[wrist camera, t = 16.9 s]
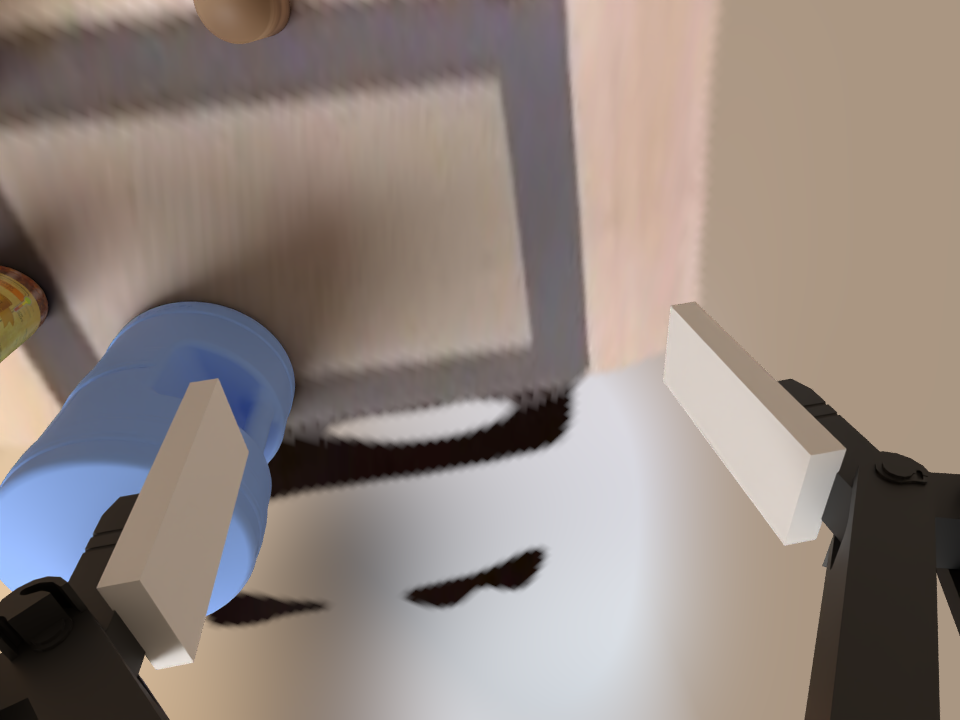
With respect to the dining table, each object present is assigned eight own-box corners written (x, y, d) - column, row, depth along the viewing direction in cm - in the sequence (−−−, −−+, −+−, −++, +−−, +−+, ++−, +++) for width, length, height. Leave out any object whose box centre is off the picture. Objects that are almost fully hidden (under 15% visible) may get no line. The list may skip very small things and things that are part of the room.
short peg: (215, -6, 39) (176, -8, 32) (258, -47, 38) (229, -60, 31) (260, 49, 41) (233, 59, 34) (302, 11, 40) (285, 12, 33)
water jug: (161, 457, 58) (11, 772, 34) (77, 318, 49) (-202, 608, 26) (318, 421, 58) (277, 707, 34) (260, 279, 50) (154, 526, 26)
